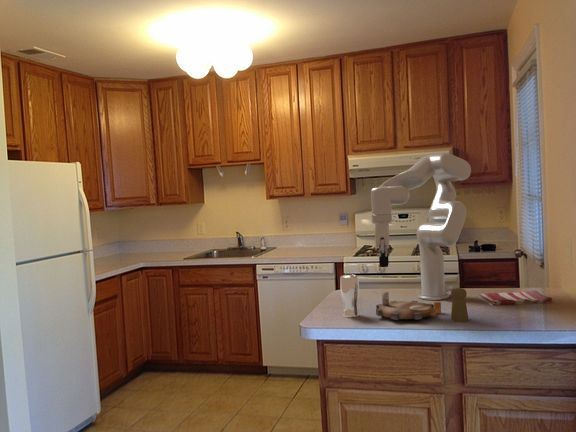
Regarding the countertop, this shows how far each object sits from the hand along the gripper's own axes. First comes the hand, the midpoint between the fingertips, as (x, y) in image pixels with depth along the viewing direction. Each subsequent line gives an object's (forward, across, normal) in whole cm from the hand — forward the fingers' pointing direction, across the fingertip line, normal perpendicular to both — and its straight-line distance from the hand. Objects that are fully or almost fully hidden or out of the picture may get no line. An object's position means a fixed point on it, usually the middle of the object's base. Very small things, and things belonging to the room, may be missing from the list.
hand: (384, 265), depth 193 cm
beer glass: (+18, +9, -13) cm, 24 cm away
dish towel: (+18, -17, +50) cm, 56 cm away
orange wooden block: (+17, +7, +10) cm, 21 cm away
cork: (+18, +15, +26) cm, 34 cm away
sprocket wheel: (+16, +9, +7) cm, 20 cm away
